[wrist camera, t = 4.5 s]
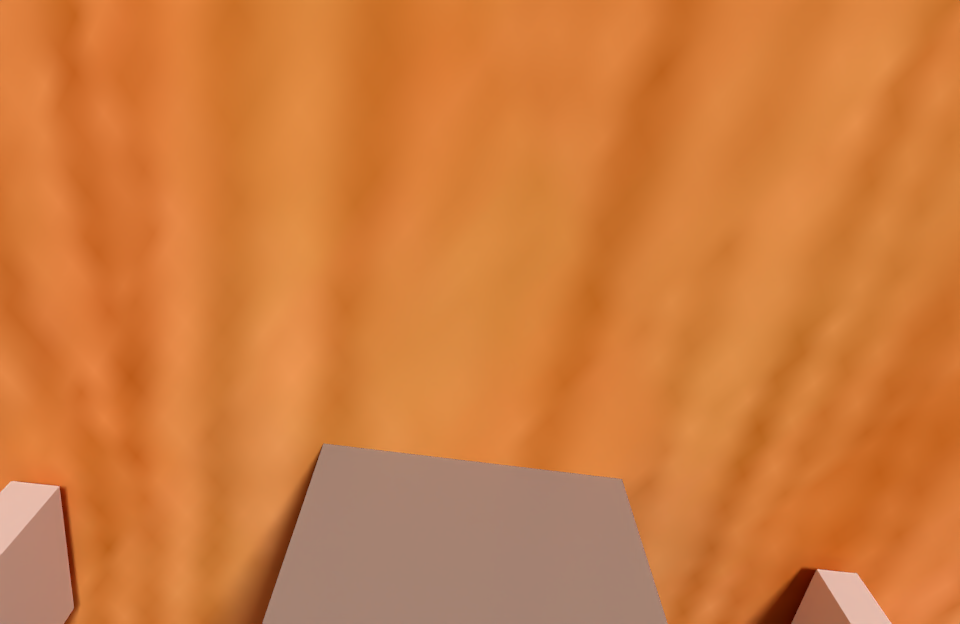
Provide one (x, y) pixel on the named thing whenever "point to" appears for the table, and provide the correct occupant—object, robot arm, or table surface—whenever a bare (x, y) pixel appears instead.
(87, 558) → the table surface
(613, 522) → the plain grey cube
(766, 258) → the table surface
